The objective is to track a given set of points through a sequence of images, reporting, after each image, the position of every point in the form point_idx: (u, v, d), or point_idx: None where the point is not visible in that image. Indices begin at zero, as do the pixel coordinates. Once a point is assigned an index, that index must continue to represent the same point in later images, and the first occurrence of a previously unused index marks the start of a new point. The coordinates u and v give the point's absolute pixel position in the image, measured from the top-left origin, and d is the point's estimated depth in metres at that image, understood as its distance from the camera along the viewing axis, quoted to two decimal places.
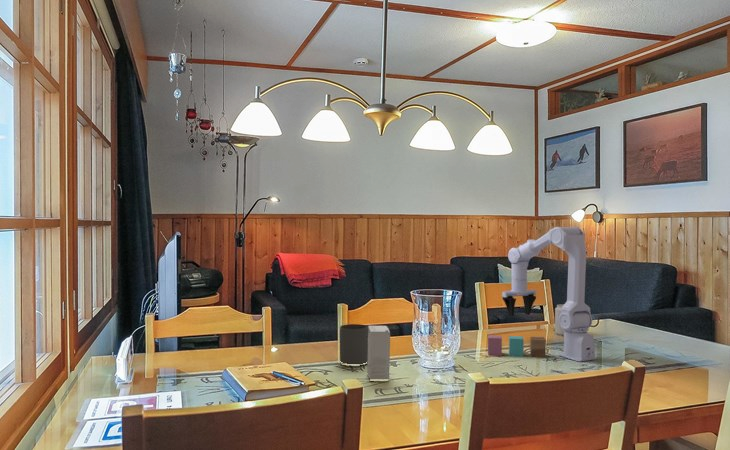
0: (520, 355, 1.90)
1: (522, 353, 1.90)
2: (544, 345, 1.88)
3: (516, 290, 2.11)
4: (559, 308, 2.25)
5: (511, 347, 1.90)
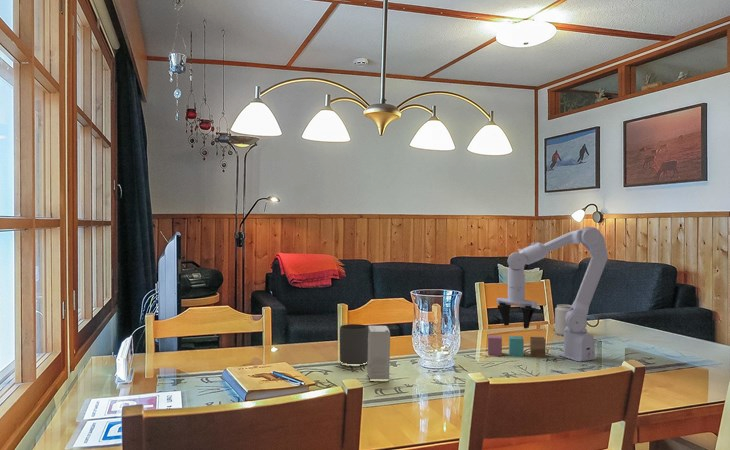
0: (520, 355, 1.90)
1: (522, 353, 1.90)
2: (544, 345, 1.88)
3: None
4: (559, 308, 2.25)
5: (511, 347, 1.90)
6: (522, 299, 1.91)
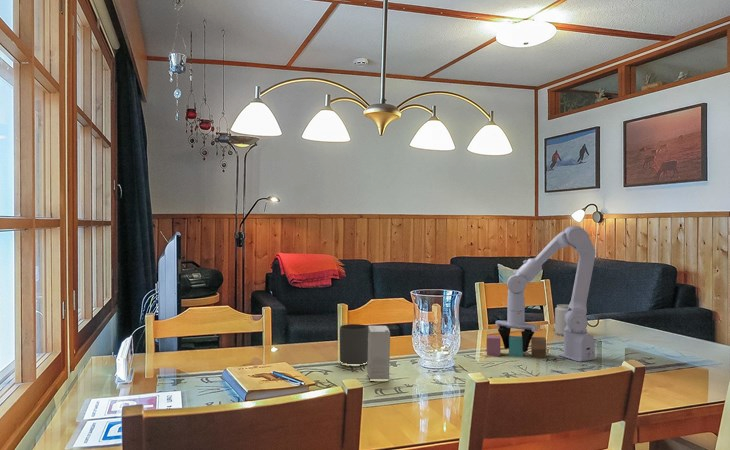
0: (520, 355, 1.90)
1: (522, 353, 1.90)
2: (544, 345, 1.88)
3: (507, 321, 1.93)
4: (559, 308, 2.24)
5: (511, 347, 1.90)
6: (522, 322, 1.90)
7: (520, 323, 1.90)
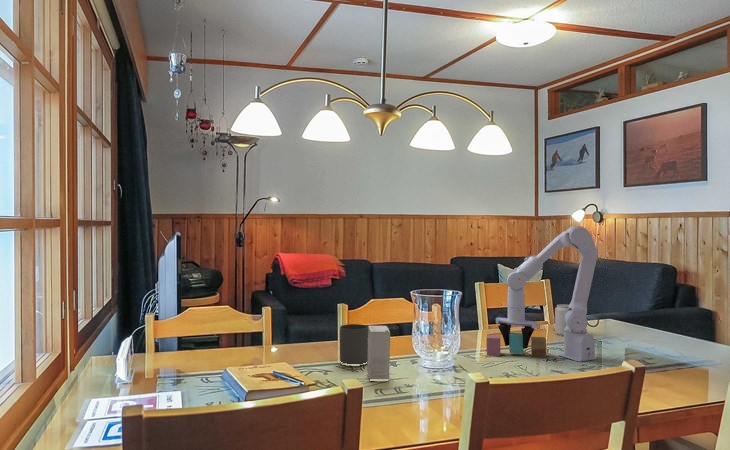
0: (520, 352, 1.90)
1: (522, 349, 1.90)
2: (544, 345, 1.88)
3: (507, 318, 1.93)
4: (559, 308, 2.25)
5: (511, 344, 1.90)
6: (522, 319, 1.90)
7: (520, 320, 1.90)
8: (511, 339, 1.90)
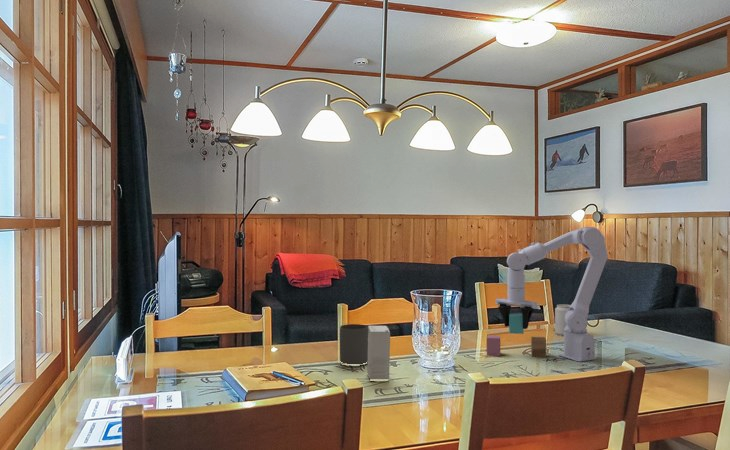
0: (520, 332, 1.90)
1: (522, 330, 1.90)
2: (544, 345, 1.88)
3: (507, 299, 1.93)
4: (559, 308, 2.25)
5: (511, 324, 1.90)
6: (522, 300, 1.90)
7: (520, 300, 1.89)
8: (511, 319, 1.90)
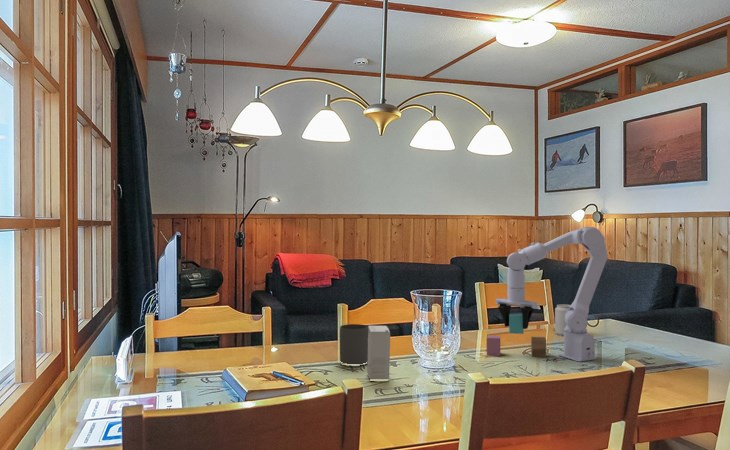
0: (520, 332, 1.90)
1: (522, 330, 1.90)
2: (544, 345, 1.88)
3: (507, 299, 1.93)
4: (559, 308, 2.25)
5: (511, 324, 1.90)
6: (522, 300, 1.90)
7: (520, 300, 1.89)
8: (511, 319, 1.90)
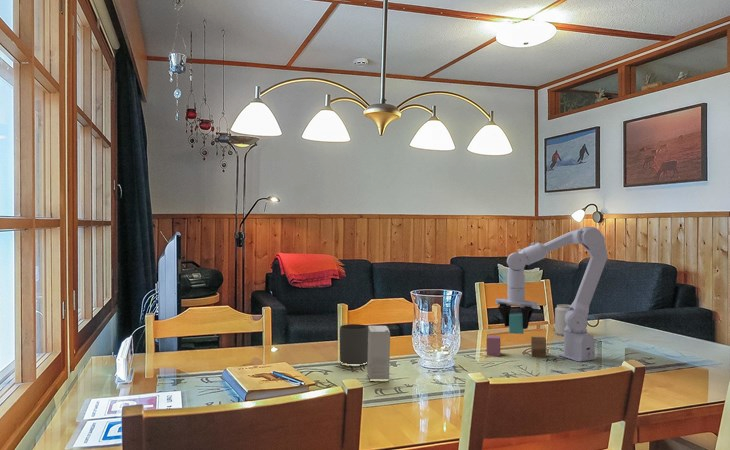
0: (520, 332, 1.90)
1: (522, 330, 1.90)
2: (544, 345, 1.88)
3: (507, 299, 1.93)
4: (559, 308, 2.25)
5: (511, 324, 1.90)
6: (522, 300, 1.90)
7: (520, 300, 1.89)
8: (511, 319, 1.90)
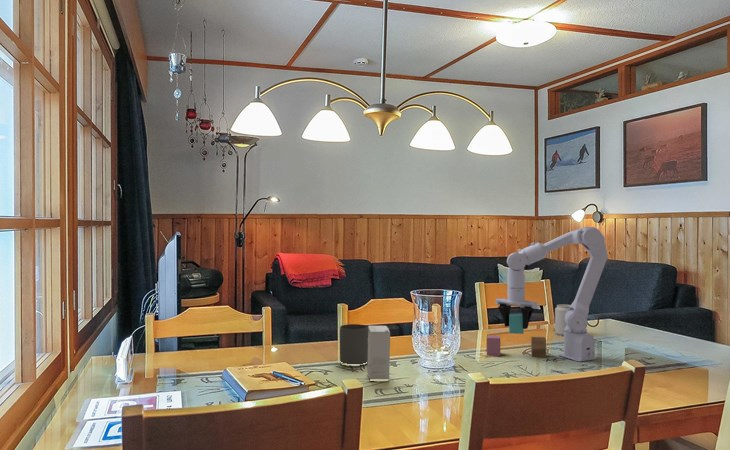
0: (520, 332, 1.90)
1: (522, 330, 1.90)
2: (544, 345, 1.88)
3: (507, 299, 1.93)
4: (559, 308, 2.25)
5: (511, 324, 1.90)
6: (522, 300, 1.90)
7: (520, 300, 1.89)
8: (511, 319, 1.90)
